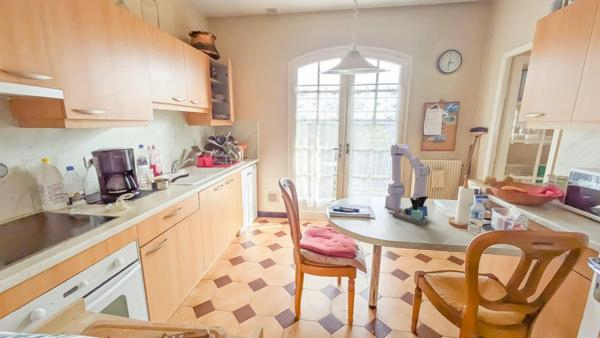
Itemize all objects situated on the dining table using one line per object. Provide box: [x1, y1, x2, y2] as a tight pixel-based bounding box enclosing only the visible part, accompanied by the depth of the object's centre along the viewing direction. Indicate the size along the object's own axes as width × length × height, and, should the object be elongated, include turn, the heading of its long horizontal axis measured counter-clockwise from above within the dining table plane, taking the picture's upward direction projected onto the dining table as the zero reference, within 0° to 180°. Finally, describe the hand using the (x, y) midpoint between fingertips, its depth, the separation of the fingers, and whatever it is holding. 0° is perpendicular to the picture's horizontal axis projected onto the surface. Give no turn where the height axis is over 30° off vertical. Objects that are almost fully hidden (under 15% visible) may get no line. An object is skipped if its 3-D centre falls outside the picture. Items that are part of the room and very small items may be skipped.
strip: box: [388, 210, 429, 227], centre depth 148 cm, size 22×7×3 cm, turn 41°
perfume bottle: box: [403, 205, 429, 217], centre depth 150 cm, size 6×6×12 cm
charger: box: [411, 209, 424, 221], centre depth 143 cm, size 5×4×7 cm
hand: (417, 208), depth 142 cm, fingers open, 7 cm apart
